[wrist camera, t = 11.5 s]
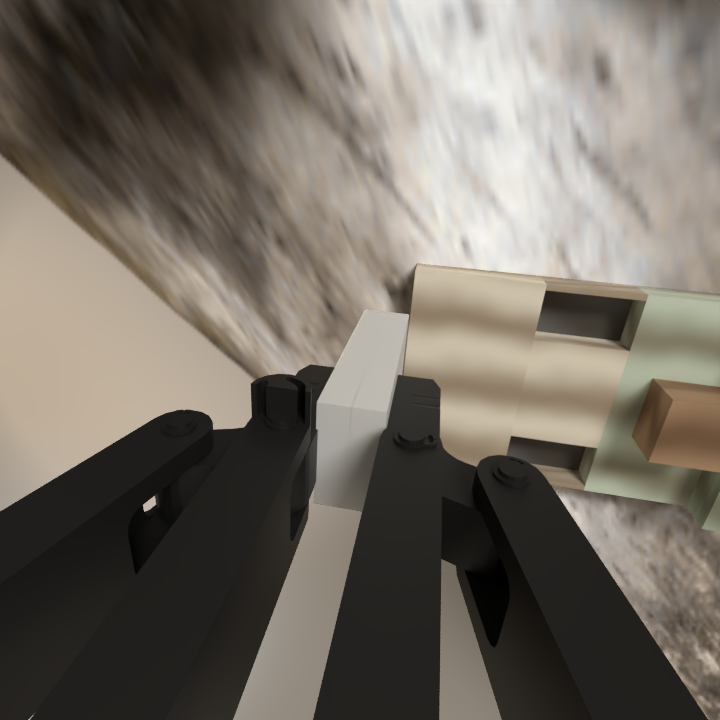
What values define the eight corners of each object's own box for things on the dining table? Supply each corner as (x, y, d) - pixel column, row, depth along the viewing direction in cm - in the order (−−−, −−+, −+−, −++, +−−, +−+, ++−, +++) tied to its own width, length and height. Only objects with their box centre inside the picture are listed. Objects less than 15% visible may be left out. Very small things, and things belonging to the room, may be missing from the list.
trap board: (417, 263, 43) (413, 279, 37) (772, 300, 39) (825, 323, 34) (395, 444, 51) (390, 478, 46) (688, 488, 47) (719, 531, 42)
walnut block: (652, 378, 40) (673, 399, 37) (727, 387, 40) (755, 411, 36) (631, 436, 43) (648, 461, 39) (701, 446, 42) (725, 473, 39)
